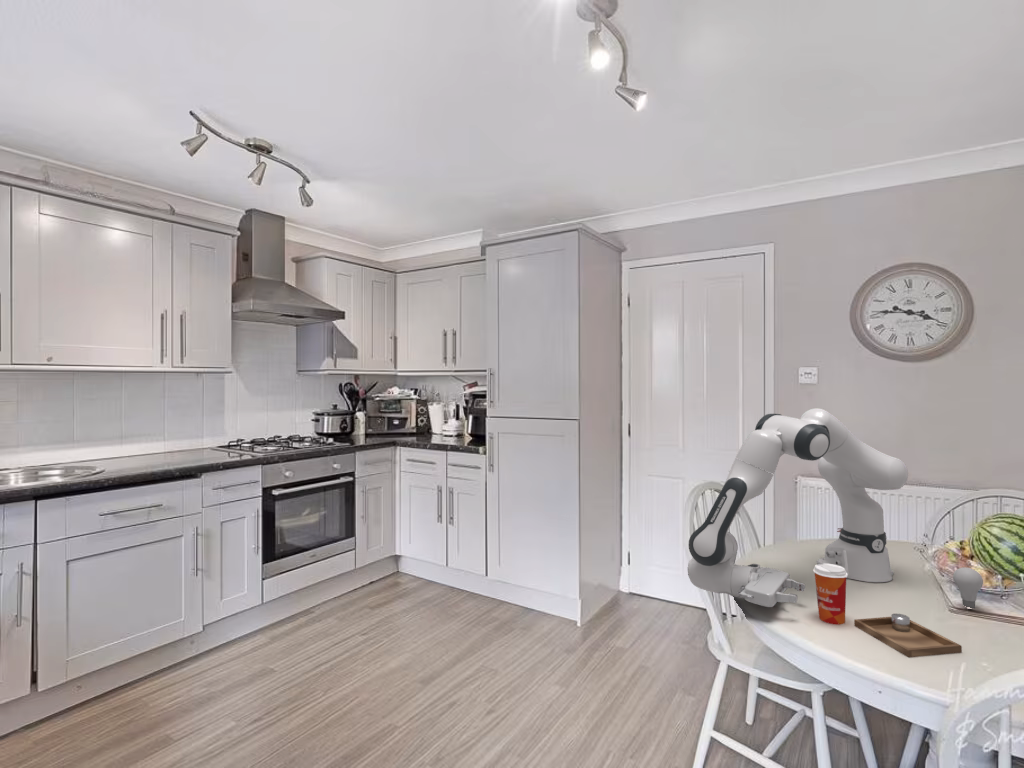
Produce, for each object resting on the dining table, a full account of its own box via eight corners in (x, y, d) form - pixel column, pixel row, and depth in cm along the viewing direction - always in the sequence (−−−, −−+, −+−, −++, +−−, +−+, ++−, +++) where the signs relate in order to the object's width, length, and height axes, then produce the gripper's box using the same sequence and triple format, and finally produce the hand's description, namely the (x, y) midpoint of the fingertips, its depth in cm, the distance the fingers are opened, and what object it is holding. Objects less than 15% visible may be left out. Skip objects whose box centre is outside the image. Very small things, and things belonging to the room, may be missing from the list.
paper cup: (808, 618, 139) (805, 565, 139) (829, 613, 142) (827, 561, 142) (835, 631, 132) (833, 574, 132) (857, 625, 134) (855, 570, 135)
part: (888, 626, 132) (887, 614, 132) (901, 625, 132) (901, 613, 132) (900, 632, 128) (899, 620, 129) (913, 631, 129) (913, 619, 129)
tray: (854, 627, 133) (854, 619, 133) (902, 624, 134) (901, 615, 134) (908, 659, 117) (908, 650, 117) (961, 655, 118) (961, 645, 118)
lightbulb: (976, 605, 144) (974, 564, 144) (989, 614, 138) (987, 572, 138) (949, 603, 145) (947, 563, 146) (961, 613, 140) (960, 571, 140)
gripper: (734, 582, 142) (791, 593, 133) (755, 561, 158) (808, 570, 149) (735, 606, 142) (792, 618, 133) (756, 583, 158) (808, 593, 149)
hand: (800, 593), depth 141 cm, fingers open, 8 cm apart
